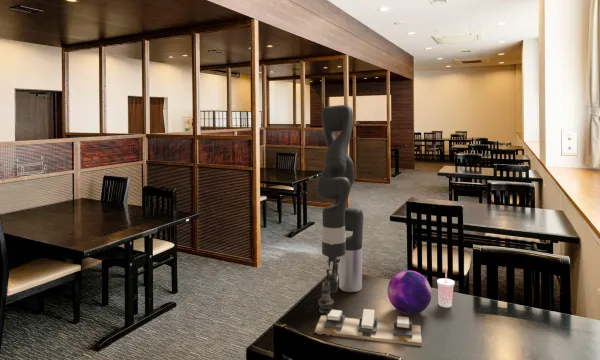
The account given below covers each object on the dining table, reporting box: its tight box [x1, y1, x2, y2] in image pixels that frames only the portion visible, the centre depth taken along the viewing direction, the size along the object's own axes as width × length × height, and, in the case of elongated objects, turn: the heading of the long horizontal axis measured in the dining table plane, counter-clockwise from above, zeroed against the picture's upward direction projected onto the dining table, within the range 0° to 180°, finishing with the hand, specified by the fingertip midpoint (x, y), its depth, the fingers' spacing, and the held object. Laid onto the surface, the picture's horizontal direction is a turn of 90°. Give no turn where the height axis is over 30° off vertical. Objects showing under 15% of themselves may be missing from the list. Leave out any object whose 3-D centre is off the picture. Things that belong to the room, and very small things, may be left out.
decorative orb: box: [387, 270, 433, 315], centre depth 143 cm, size 15×15×15 cm
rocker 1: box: [327, 309, 343, 320], centre depth 135 cm, size 8×4×1 cm, turn 166°
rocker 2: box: [361, 308, 376, 329], centre depth 132 cm, size 8×4×1 cm, turn 165°
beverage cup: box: [436, 267, 456, 308], centre depth 148 cm, size 6×6×14 cm
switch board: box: [314, 313, 423, 347], centre depth 131 cm, size 11×33×4 cm, turn 75°
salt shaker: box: [317, 278, 335, 315], centre depth 145 cm, size 6×6×12 cm
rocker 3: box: [396, 315, 410, 328], centre depth 129 cm, size 8×4×1 cm, turn 166°
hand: (333, 291), depth 130 cm, fingers closed
